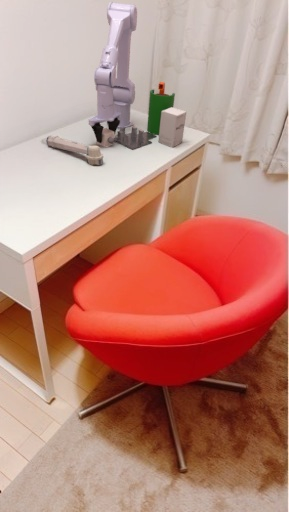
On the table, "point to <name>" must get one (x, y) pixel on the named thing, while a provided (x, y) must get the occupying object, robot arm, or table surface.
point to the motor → (158, 108)
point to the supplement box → (172, 126)
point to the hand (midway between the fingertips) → (105, 139)
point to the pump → (107, 138)
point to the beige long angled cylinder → (77, 149)
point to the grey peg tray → (133, 138)
